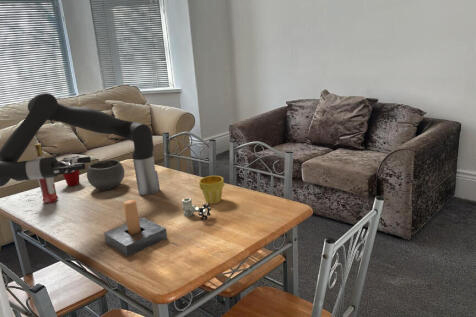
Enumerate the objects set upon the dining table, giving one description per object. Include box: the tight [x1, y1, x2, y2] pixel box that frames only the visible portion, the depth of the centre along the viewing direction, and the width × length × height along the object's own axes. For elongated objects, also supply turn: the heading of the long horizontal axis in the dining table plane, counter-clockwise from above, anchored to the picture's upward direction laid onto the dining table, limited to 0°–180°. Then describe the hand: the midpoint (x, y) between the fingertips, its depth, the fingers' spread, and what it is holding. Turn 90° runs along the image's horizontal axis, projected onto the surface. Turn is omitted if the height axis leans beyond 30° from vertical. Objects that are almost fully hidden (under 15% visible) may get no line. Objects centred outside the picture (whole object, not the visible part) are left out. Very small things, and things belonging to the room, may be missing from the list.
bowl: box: [86, 159, 125, 191], centre depth 208 cm, size 18×18×13 cm
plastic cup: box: [62, 159, 80, 187], centre depth 217 cm, size 11×11×12 cm
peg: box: [122, 199, 141, 236], centre depth 149 cm, size 4×4×15 cm
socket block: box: [103, 216, 168, 257], centre depth 151 cm, size 16×16×4 cm
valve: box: [181, 197, 212, 221], centre depth 166 cm, size 7×7×12 cm
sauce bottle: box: [34, 143, 59, 204], centre depth 194 cm, size 7×7×28 cm
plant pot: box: [198, 175, 225, 205], centre depth 180 cm, size 10×10×10 cm
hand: (87, 162), depth 154 cm, fingers open, 8 cm apart
